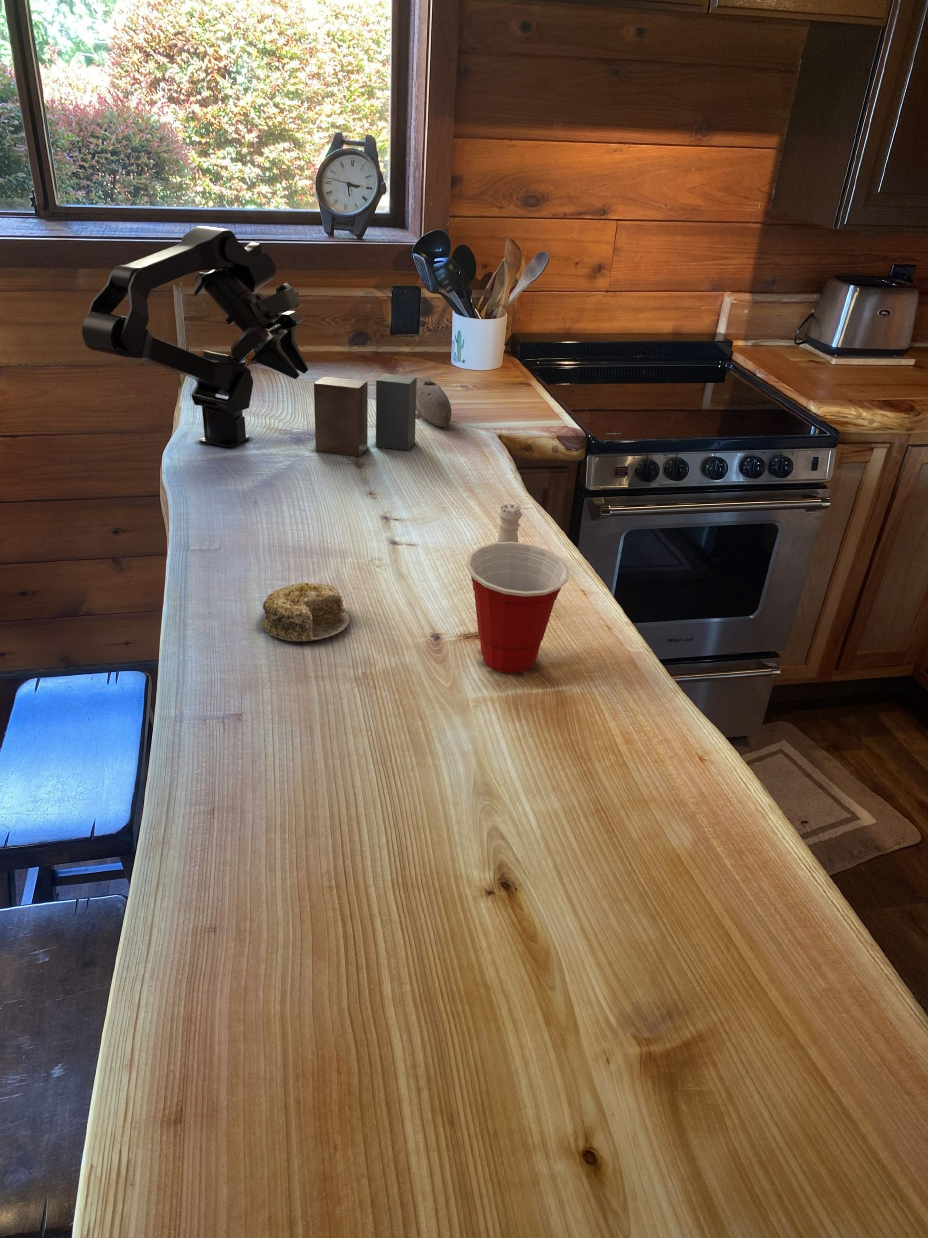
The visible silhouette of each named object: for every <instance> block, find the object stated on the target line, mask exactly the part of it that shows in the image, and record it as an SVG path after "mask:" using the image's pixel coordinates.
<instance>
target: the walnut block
mask: <svg viewBox="0 0 928 1238" xmlns="http://www.w3.org/2000/svg"><path fill="white" fill-rule="evenodd" d="M368 385H369V384H368V380H362V379H361V380H360V379H350V378H341V377H331V376H323V377H321V378H318V380H316V381H315V382H313V402H314V403H313V404H314V405H313V407H314V437H315V438H314V440H315V441H314V443H315V452H316V453H317V452H318V453H319V452H320V453H327V454H336V455H343V456H350V457H358V458H359V457H360V456H361V455H362V454H363V453H364V452H366V450H367V449H368V448H369V447H368V446H369V445H368V443H369V441H368V440H369V439H368V437H369V436H368V434H369V433H368V431H369V430H368V426H369V425H368V421H369V420H368V419H369V418H368V417H369V416H368V413H369V412H368V411H369V410H368V409H369V408H368V407H369V405H368V403H369V402H368V400H369V399H368V395H369V391H368V388H369V387H368Z"/></svg>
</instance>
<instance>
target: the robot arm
mask: <svg viewBox="0 0 928 1238" xmlns="http://www.w3.org/2000/svg"><path fill="white" fill-rule="evenodd" d="M276 267H277V266H276V263H275V262H274V261H273V259H272V258H271V256H270V255H269V254H268V253H267V252H266V251H265V250H263V248H262V244H261V243H260V242H249V243H248V244H247V245H246V246H245V247H244V245H242V244H241V243H240V242H239V240H238V238H237V236H236V234H235V233H234V232H233V231H232V230H231V229H227V228H218V227H212V226H203V225H202V226H201V225H198V226H195V227H194V228H193V229H191V230H189V231H188V232H187V233H185V234H184V235H183V236H182V238H181V240H180V242H179V243H177V244H176V245H173V246H171V247H168V248H166V249H163V250H160V251H157V252H155V253H152V254H149V255H147V256H145V257H142V258H139V259H137V260H134V261H131V262H129V263H126V264H119V265H117V266H115V267H113V268H112V269H111V270H110V272H109V275H108V278H107V281H106V284H105V285H103V287H102V288H101V289H100V290H99V291H98V292H97V294H96V295H95V296H94V297H93V298H92V300H91V302H90V305H89V307H88V310H87V313H86V315H85V318H84V320H83V323H82V326H81V335H82V339H83V342H84V345H85V346H86V347H87V348H88V349H89V350H91V351H94V352H98V353H99V352H100V353H104V354H109V355H113V356H118V357H124V358H129V359H137V360H142V361H145V362H148V363H150V364H152V365H156V366H159V367H161V368H164V369H167V370H169V371H171V372H174V373H177V374H180V375H182V376H184V377H188V378H191V379H193V380H194V381H195V382H196V385H195V387H194V388H193V390H192V393H191V399H192V401H193V404H194V406H200V407H201V412H202V423H203V435H204V436H203V437H201V438H199V439H198V441H199V443H201V444H205V445H206V444H207V445H211V446H218V447H221V448H228V449H229V448H230V449H231V448H232V447H234V446H237V445H239V444H241V443H243V442H245V441H247V440H250V435H247V433H246V431H247V430H246V417H245V416H244V414H243V413H244V412H243V411H245V410H247V409H249V408H250V404H251V400H252V393H253V387H254V379H253V376H252V370H251V369H250V368H249V367H247V366H246V363H247V362H246V361H247V360H248V358H249V354H250V353H251V352H253V353H254V354H255V355H254V356H252V357H251V358H250V361H251V362H252V363H254V362H255V363H258V364H259V365H261V366H264V367H267V368H270V369H271V370H274V371H276V372H278V373H280V374H282V375H285V376H287V377H289V378H292V379H293V380H297V379H298V378H299V377H300V373H302V374H306V373H307V372H308V371H309V367H308V365H307V363H306V361H305V358H304V357H303V354H302V353H301V350H300V349H299V346H298V343H297V341H296V331H297V330H298V326H299V325H300V324H301V322H303V318H302V317H301V316H300V315H299V313H298V312H297V311H295V310H294V309H295V308H298V307H299V306H301V304H300V301H299V300H298V296H299V294H300V293H299V291H297V290H296V289H295V287H294V286H291V285H290V284H289V283H288V282H285V283H283V284H281V285H279V286H276V288H275V293H273V294H272V295H269V296H267V297H265V296H264V295H263V294H262V293H259V292H257V293H254V292H256V291H257V290H258V289H260V288H262V287H263V286H265V285H266V284H268V283H270V282H271V281H273V280H274V279H275V277H276V274H277V268H276ZM201 271H209V272H201ZM196 272H197V273H196ZM193 273H196V275H195V276H194V278H193V296H196V297H198V296H199V295H201V294H202V293H204V292H205V293H206V294H207V295H208V296H209V297H210V298H211V299H212V300H213V302H214V303H215V304H216V305H217V306H218V307H219V309H221V310H222V312H224V314H225V315H226V316H227V318H226V319H225V322H226V323H227V324H228V325H229V326H231V325H233V324H234V325H235V326H236V327H237V328H238V329H239V331H240V332H241V333H242V334H241V335H240V336H239V337H238V338H237V339H236V340H235V341H234V342H233V343H232V344H231V345H230V355H228V354H223V353H219V352H213V351H209V350H203V354H202V355H199V354H196V353H194V352H192V351H191V350H187V349H185V348H182V347H180V346H178V345H175V344H172V343H171V342H168V341H165V340H163V339H160V338H158V337H156V336H154V335H153V333H151V331H150V330H149V328H148V324H149V321H150V316H149V315H150V314H149V305H148V299H149V295H150V293H151V291H153V290H156V289H158V288H161V287H163V286H165V285H167V284H170V283H172V282H174V281H177V280H179V279H182V278H184V277H186V276H188V275H191V274H193ZM127 295H128V306H129V307H128V308H129V309H128V312H127V314H126V316H125V315H119V314H114V313H113V311H115V310H116V308H117V307H118V306H119V305H120V304H121V302H123V301H124V299H125V298H126V296H127ZM292 309H293V310H292ZM282 312H283V313H282ZM299 372H300V373H299ZM217 395H219V396H217ZM220 396H223V397H220ZM224 397H227V398H224Z"/></svg>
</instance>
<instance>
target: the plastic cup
mask: <svg viewBox="0 0 928 1238" xmlns="http://www.w3.org/2000/svg"><path fill="white" fill-rule="evenodd" d="M466 568H467V571H468V572H469V574H470V578H471V579H470V580H471V582H472V590H473V595H474V602H475V613H476V621H477V623H476V624H477V630H478V635H479V642H480V652H481V656H482V660H483V662H484V664H485V666H487V667H488V668H490V669H491V670H493V671H496V672H500V673H504V674H518V673H523V672H526V671H529V670H530V669H531V668H532V667H533V666H534V664H535V662H536V661H537V658H538V654H539V651H540V647H541V644H542V641H543V640H544V637H545V633H546V631H547V628H548V624H549V621H550V618H551V614H552V612H553V611H552V610H553V608H554V605H555V602H556V600H557V598H558V595H559V593H560V592H561V589H562V587H564V585H566V583H568V581H569V579H570V568H569V566H568V565H567V563H566V562H565V561H564V559H563V558H562V557H561V556H559V555H558V554H555V553H554V552H553V551H551V550H549V549H546V548H543V547H540V546H537V545H535V544H531V543H525V542H519V541H518V542H497V541H496V542H492V543H488V544H484V545H482V546H478V547H477V548H476V549H474V550H472V551H471V552H470V553H469V554H468V556H467V561H466Z"/></svg>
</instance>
